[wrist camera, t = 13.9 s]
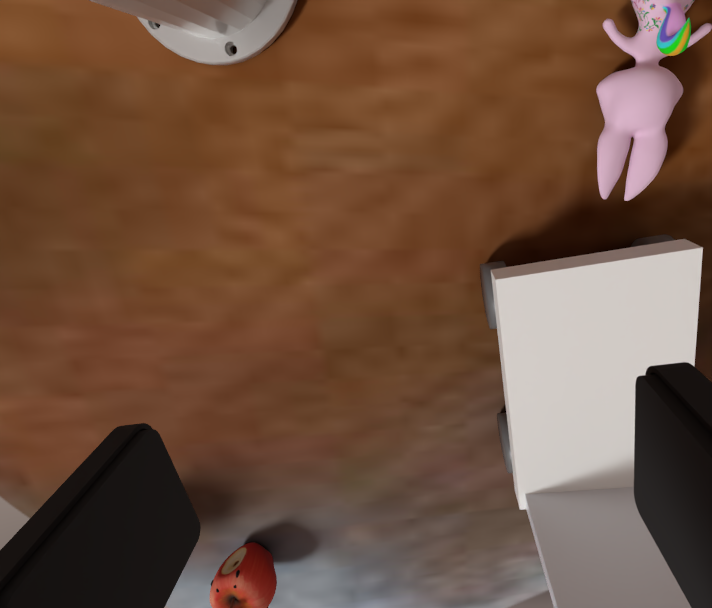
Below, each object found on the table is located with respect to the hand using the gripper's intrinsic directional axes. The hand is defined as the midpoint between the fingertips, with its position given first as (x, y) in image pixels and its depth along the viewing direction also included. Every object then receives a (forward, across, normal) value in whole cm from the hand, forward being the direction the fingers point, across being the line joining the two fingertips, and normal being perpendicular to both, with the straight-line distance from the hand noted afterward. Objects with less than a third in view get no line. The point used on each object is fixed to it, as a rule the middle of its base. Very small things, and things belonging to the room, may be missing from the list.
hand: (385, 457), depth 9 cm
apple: (+28, +24, +37) cm, 53 cm away
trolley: (+28, -11, +15) cm, 34 cm away
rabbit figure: (+29, -16, -5) cm, 33 cm away
